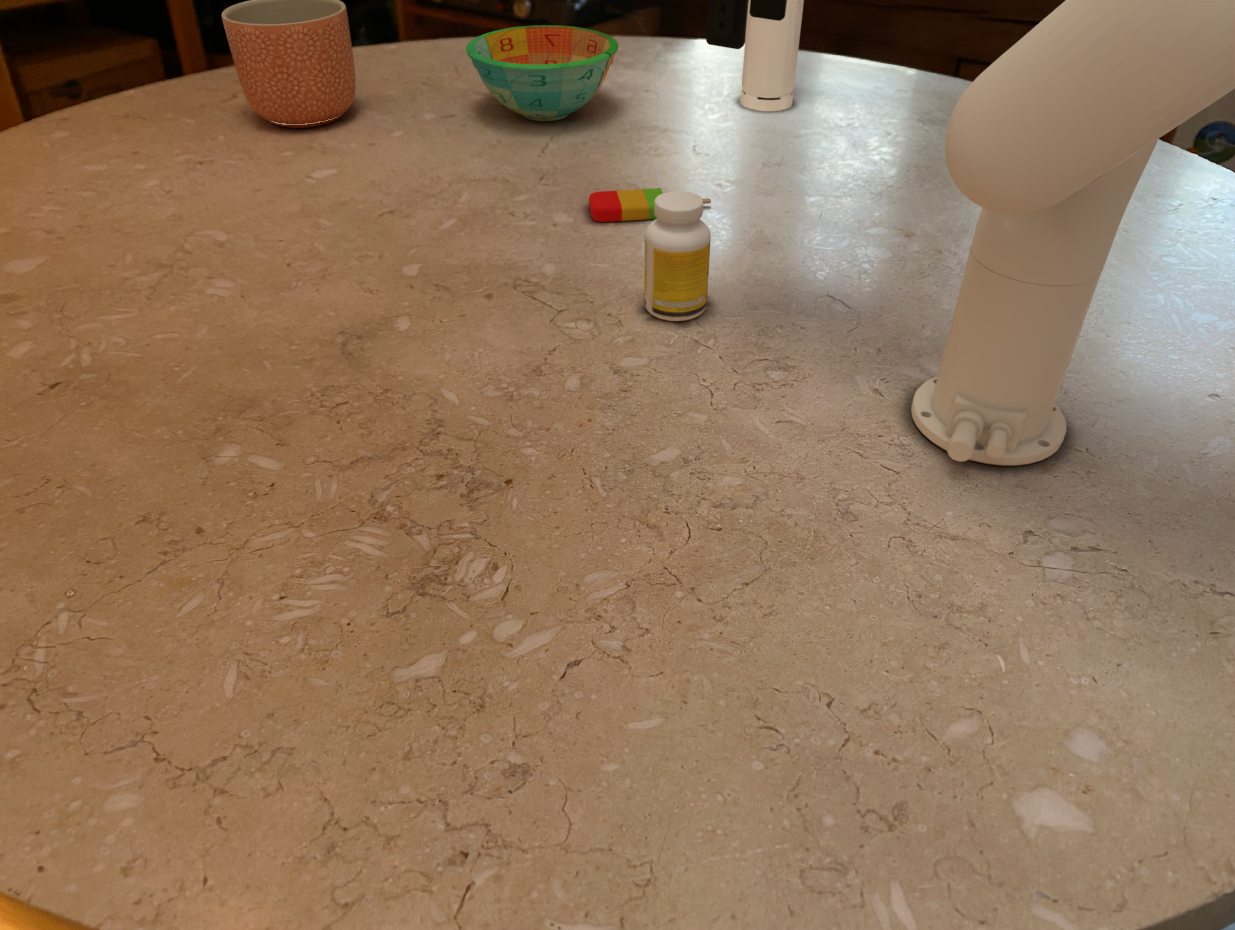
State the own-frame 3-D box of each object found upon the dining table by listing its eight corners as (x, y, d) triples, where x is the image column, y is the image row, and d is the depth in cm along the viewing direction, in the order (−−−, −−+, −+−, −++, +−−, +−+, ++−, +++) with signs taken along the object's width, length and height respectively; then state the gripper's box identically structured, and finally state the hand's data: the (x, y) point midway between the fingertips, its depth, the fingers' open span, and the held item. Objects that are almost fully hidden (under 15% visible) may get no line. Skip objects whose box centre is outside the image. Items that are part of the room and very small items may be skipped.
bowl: (441, 119, 141) (433, 49, 135) (534, 82, 156) (530, 17, 149) (559, 150, 131) (556, 76, 125) (646, 107, 146) (648, 38, 139)
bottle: (763, 91, 152) (782, -110, 134) (802, 103, 147) (827, -104, 129) (729, 102, 147) (744, -104, 130) (769, 115, 143) (790, -98, 125)
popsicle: (587, 205, 117) (587, 190, 116) (705, 199, 119) (706, 184, 117) (592, 224, 113) (592, 209, 112) (715, 217, 114) (716, 202, 113)
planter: (386, 115, 143) (370, 7, 133) (291, 146, 133) (265, 31, 123) (320, 92, 152) (300, -11, 142) (225, 119, 142) (197, 11, 132)
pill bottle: (713, 321, 95) (720, 212, 87) (650, 326, 94) (652, 217, 87) (698, 290, 100) (704, 185, 92) (638, 295, 99) (639, 189, 92)
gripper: (777, -202, 62) (750, 65, 73) (853, -218, 74) (820, 14, 85) (675, -208, 65) (664, 51, 76) (764, -223, 77) (743, 3, 88)
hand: (746, 31), depth 81 cm, fingers open, 9 cm apart
